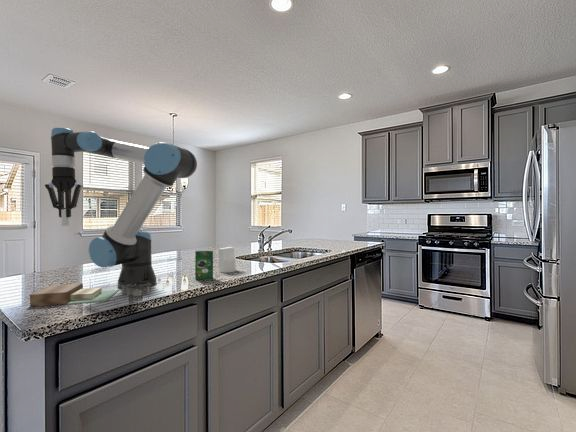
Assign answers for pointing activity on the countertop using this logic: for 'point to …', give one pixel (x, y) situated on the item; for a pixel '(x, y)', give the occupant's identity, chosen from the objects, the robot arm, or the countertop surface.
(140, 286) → the egg carton
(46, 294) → the tan wooden block
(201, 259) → the coffee box
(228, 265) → the white upright block
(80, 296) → the tile
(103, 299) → the mat
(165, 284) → the countertop surface
